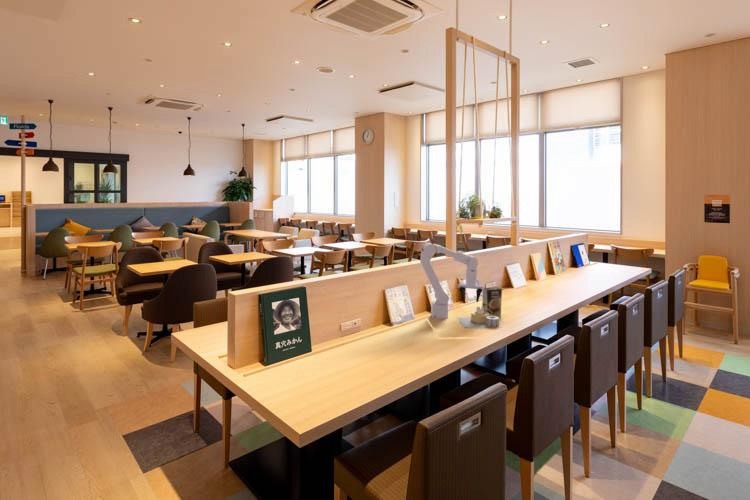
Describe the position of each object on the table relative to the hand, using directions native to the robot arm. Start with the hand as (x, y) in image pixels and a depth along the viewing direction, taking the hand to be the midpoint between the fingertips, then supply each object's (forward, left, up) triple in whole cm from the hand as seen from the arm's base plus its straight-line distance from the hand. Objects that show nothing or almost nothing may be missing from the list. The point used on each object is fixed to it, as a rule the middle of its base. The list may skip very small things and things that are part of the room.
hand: (470, 301), depth 257 cm
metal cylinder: (+3, -8, -9) cm, 13 cm away
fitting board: (+1, -12, -10) cm, 16 cm away
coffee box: (+13, +4, -10) cm, 17 cm away
